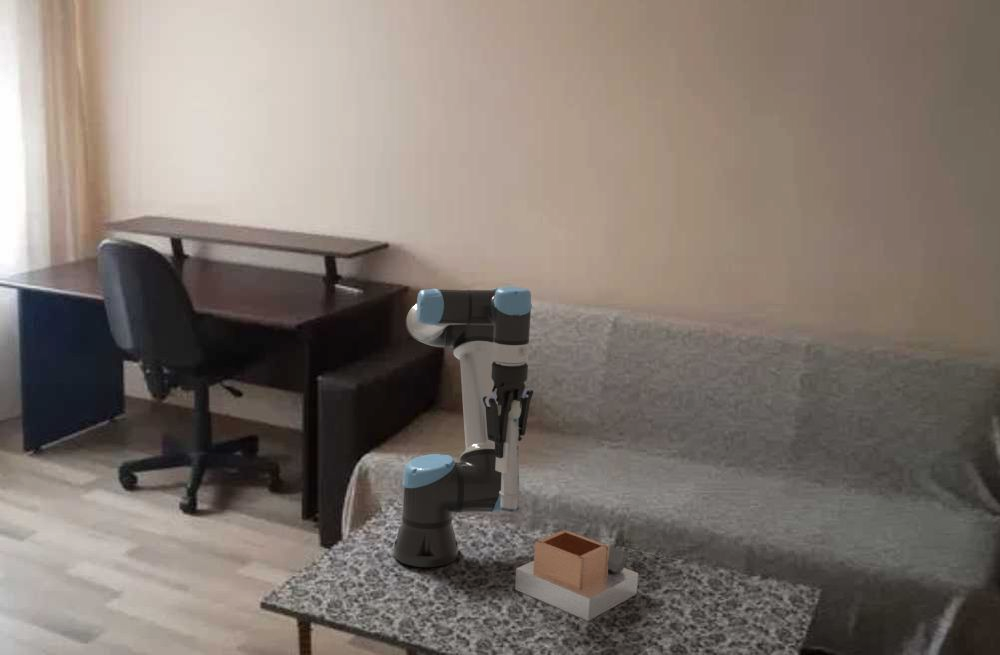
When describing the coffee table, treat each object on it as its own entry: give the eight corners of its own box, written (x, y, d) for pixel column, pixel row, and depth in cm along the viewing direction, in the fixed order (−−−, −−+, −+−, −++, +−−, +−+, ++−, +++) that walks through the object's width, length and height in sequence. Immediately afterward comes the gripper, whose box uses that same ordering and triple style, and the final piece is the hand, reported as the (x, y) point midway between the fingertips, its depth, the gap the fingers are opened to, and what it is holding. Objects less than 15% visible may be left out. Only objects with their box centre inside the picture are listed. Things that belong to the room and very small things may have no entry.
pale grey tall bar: (514, 514, 216) (519, 398, 211) (485, 508, 218) (489, 394, 213) (523, 506, 220) (528, 393, 216) (494, 501, 223) (498, 389, 218)
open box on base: (515, 589, 226) (517, 538, 224) (565, 565, 240) (568, 517, 237) (588, 621, 213) (591, 567, 211) (636, 594, 227) (640, 543, 224)
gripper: (498, 370, 205) (493, 482, 209) (547, 360, 216) (541, 467, 220) (472, 363, 210) (467, 473, 215) (520, 354, 221) (515, 459, 225)
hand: (504, 470), depth 217 cm, fingers closed on pale grey tall bar, 2 cm apart
